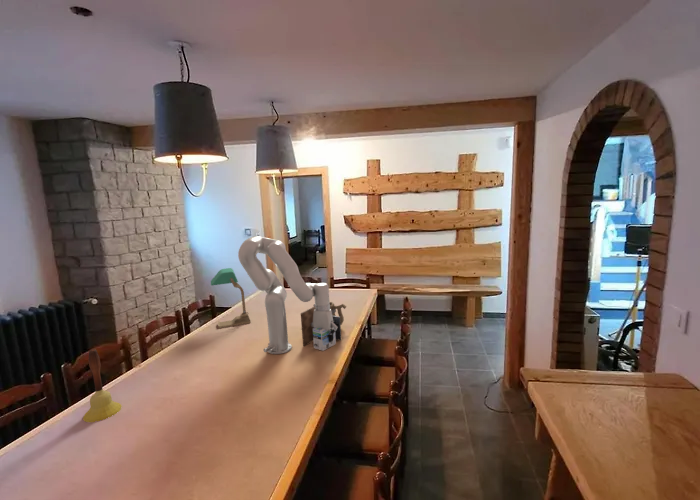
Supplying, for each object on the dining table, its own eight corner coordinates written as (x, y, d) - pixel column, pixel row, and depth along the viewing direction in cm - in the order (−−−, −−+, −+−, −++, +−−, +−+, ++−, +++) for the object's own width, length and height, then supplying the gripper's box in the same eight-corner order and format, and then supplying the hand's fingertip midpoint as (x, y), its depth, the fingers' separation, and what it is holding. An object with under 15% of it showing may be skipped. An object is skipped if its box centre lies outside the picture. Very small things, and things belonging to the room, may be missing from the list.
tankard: (312, 329, 213) (310, 304, 211) (323, 321, 224) (321, 298, 222) (341, 333, 204) (340, 307, 201) (351, 325, 215) (350, 301, 212)
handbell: (115, 399, 146) (105, 341, 142) (126, 409, 138) (117, 348, 134) (78, 414, 136) (67, 352, 132) (88, 426, 128) (77, 360, 125)
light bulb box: (323, 351, 181) (321, 330, 179) (313, 348, 185) (311, 328, 184) (336, 343, 189) (335, 324, 188) (326, 341, 193) (325, 322, 192)
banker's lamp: (251, 324, 225) (246, 270, 220) (216, 330, 218) (209, 274, 213) (248, 317, 240) (243, 266, 235) (215, 323, 232) (209, 270, 227)
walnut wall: (304, 346, 188) (301, 313, 186) (303, 346, 189) (300, 313, 186) (320, 336, 201) (318, 305, 199) (319, 335, 202) (316, 304, 199)
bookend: (340, 340, 194) (339, 317, 192) (319, 336, 200) (318, 314, 198) (341, 339, 194) (340, 316, 192) (320, 336, 201) (318, 313, 199)
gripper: (304, 307, 185) (306, 340, 188) (333, 311, 177) (335, 345, 179) (312, 303, 192) (315, 335, 194) (340, 306, 183) (342, 339, 186)
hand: (324, 339), depth 187 cm, fingers closed on light bulb box, 7 cm apart
